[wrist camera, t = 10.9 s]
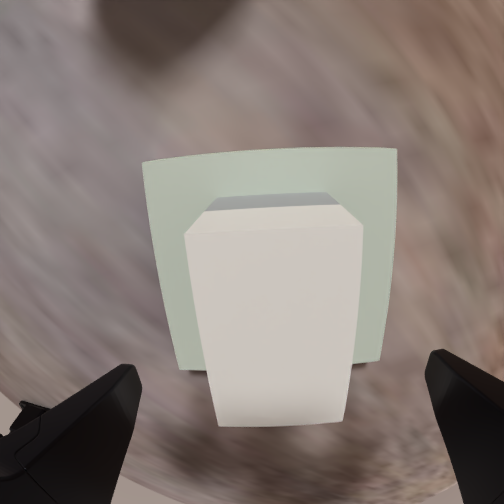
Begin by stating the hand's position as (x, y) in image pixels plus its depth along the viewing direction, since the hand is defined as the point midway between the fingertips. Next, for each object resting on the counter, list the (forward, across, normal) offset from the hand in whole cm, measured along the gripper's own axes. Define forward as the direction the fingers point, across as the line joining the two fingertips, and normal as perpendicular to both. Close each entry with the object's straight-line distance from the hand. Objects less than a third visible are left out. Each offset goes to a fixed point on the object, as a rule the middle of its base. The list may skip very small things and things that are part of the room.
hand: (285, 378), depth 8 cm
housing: (+8, 0, 0) cm, 8 cm away
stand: (+10, 0, 0) cm, 10 cm away
